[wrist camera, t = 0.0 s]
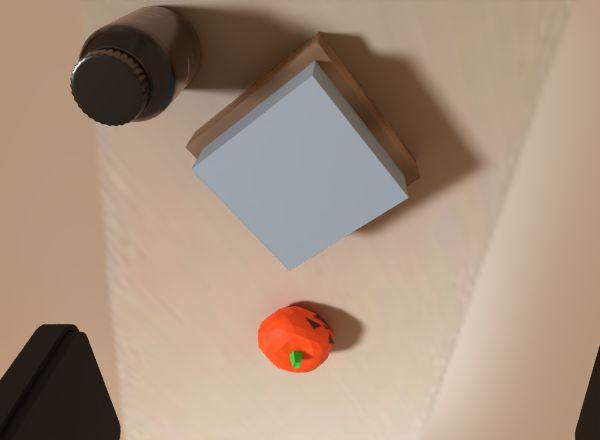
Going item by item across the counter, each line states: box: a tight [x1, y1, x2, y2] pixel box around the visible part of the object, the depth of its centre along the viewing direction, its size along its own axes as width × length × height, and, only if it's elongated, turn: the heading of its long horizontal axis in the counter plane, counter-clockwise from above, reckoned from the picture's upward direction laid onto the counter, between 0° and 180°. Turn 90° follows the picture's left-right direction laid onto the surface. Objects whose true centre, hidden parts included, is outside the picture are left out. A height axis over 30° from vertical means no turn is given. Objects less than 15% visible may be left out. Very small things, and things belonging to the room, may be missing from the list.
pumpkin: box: [258, 306, 334, 373], centre depth 56 cm, size 7×8×6 cm
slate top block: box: [191, 61, 409, 271], centre depth 43 cm, size 12×12×4 cm
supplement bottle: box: [70, 6, 201, 126], centre depth 39 cm, size 7×7×12 cm
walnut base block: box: [186, 32, 420, 186], centre depth 47 cm, size 14×14×4 cm
